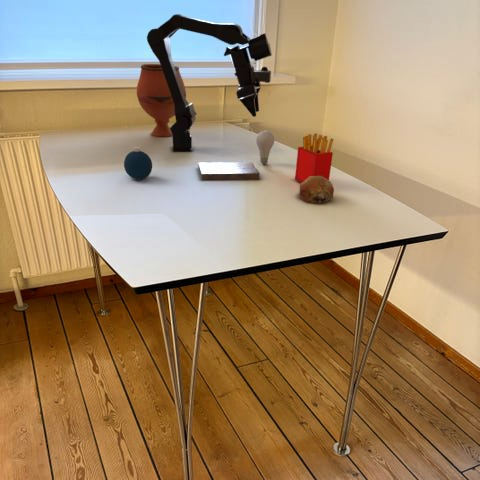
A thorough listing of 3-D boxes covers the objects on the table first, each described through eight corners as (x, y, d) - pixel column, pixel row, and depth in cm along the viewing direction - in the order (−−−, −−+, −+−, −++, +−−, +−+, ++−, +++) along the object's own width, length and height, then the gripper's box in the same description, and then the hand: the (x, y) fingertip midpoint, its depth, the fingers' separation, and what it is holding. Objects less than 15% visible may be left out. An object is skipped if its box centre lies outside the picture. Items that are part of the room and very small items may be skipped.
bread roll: (332, 209, 145) (338, 181, 144) (328, 204, 135) (334, 175, 134) (299, 204, 147) (304, 176, 146) (293, 199, 137) (299, 170, 136)
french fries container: (311, 177, 158) (317, 132, 151) (329, 185, 152) (336, 138, 144) (293, 180, 155) (298, 133, 148) (311, 188, 149) (317, 140, 141)
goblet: (184, 140, 192) (182, 69, 179) (135, 138, 192) (129, 67, 178) (189, 130, 208) (187, 64, 195) (143, 128, 208) (139, 61, 194)
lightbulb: (272, 167, 166) (275, 133, 160) (255, 166, 166) (256, 132, 160) (272, 162, 172) (274, 129, 166) (254, 161, 172) (256, 128, 166)
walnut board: (201, 180, 151) (201, 173, 150) (198, 169, 161) (198, 162, 160) (258, 179, 154) (259, 173, 153) (252, 168, 164) (252, 162, 163)
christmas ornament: (158, 178, 151) (157, 145, 146) (138, 185, 145) (136, 150, 140) (139, 173, 155) (137, 140, 150) (119, 179, 149) (116, 145, 144)
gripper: (262, 60, 154) (276, 111, 161) (268, 55, 169) (280, 102, 177) (229, 72, 157) (244, 122, 164) (237, 66, 172) (251, 111, 180)
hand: (256, 113), depth 171 cm, fingers open, 9 cm apart
